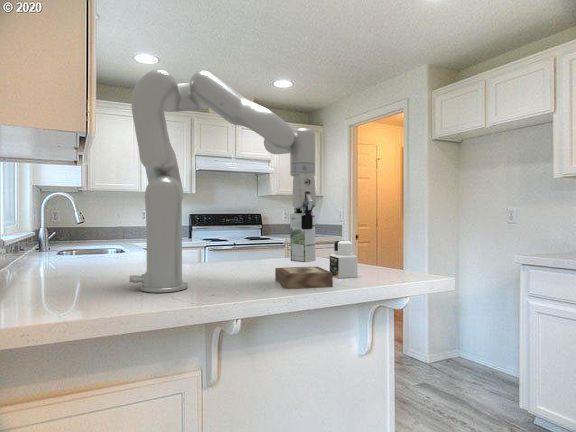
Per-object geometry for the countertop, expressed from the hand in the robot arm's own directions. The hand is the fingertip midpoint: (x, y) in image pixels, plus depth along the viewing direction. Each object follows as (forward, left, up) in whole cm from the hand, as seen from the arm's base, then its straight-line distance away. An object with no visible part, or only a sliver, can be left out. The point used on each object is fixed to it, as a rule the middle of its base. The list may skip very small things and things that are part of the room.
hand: (302, 228), depth 118 cm
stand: (0, 0, -17) cm, 17 cm away
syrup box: (0, 0, -10) cm, 10 cm away
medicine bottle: (+17, +10, -17) cm, 26 cm away
